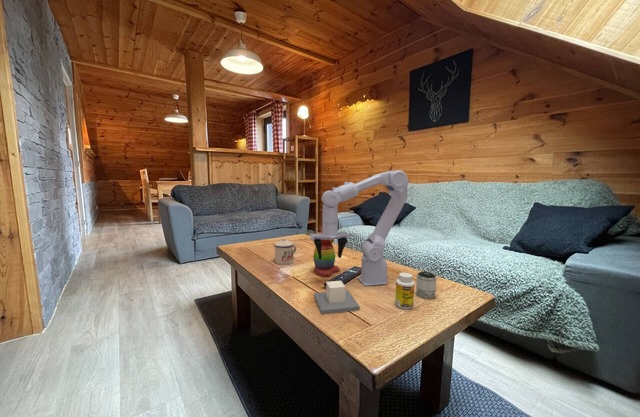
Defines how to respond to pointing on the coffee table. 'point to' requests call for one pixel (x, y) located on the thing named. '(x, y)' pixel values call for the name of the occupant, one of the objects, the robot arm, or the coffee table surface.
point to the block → (335, 291)
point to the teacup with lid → (284, 252)
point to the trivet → (336, 307)
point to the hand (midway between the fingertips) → (329, 257)
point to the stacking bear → (325, 259)
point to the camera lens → (426, 285)
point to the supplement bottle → (404, 291)
